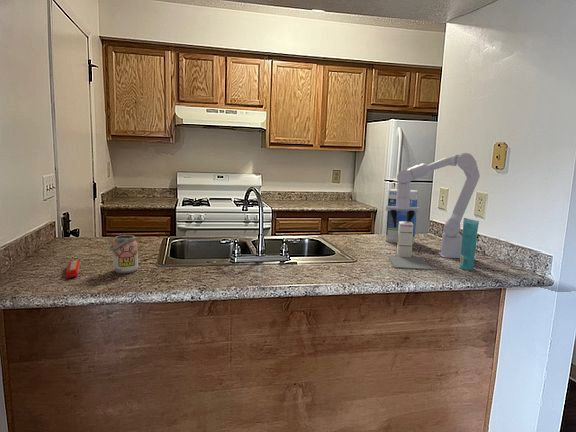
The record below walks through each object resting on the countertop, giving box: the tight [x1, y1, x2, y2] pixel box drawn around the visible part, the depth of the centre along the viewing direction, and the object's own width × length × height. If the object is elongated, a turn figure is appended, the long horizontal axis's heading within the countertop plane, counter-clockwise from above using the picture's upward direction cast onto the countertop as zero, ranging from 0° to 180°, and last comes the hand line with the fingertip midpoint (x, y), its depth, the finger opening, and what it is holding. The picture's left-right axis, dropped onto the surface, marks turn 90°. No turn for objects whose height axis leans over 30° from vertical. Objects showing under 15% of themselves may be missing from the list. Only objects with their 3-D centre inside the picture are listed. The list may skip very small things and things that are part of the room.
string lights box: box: [385, 188, 419, 245], centre depth 198 cm, size 13×8×26 cm, turn 66°
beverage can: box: [108, 234, 139, 274], centre depth 140 cm, size 9×8×12 cm
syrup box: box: [396, 221, 413, 257], centre depth 171 cm, size 6×6×14 cm
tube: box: [459, 217, 480, 271], centre depth 154 cm, size 7×5×19 cm, turn 26°
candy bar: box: [65, 259, 81, 279], centre depth 138 cm, size 16×4×3 cm, turn 24°
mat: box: [388, 255, 433, 271], centre depth 161 cm, size 14×16×1 cm
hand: (401, 227), depth 182 cm, fingers open, 5 cm apart
